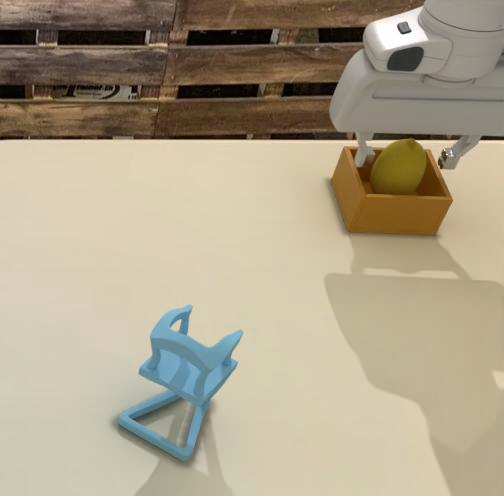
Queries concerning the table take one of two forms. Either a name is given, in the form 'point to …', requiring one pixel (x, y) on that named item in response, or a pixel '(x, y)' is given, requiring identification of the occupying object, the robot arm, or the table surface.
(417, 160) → the lemon
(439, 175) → the ochre bin
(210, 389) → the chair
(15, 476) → the table surface
